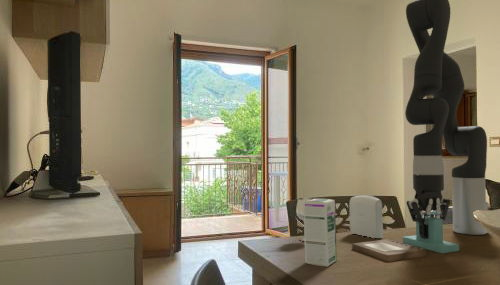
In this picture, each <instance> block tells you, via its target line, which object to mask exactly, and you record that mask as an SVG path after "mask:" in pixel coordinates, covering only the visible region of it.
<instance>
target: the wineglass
mask: <svg viewBox="0 0 500 285" xmlns="http://www.w3.org/2000/svg"><path fill="white" fill-rule="evenodd" d="M312 199H314V198H311V197H301V198H298V199H297V202H296V209H295V210H296V216H297V218H298V219H300V220H302V221H304V204H303V202H304V201H309V200H312ZM303 240H304V237H303Z"/></svg>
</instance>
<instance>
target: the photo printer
mask: <svg viewBox="0 0 500 285" xmlns="http://www.w3.org/2000/svg"><path fill="white" fill-rule="evenodd" d="M348 205H349V206H348V207H349V232H350V233H354V234H358V235H362V236H361V237H363V236H367V237H366V238H369V237H371V238H370V239H375V238H381V239H383V237H384V227H383V226H384V225H383V224H384V222H383V221H384V220H383V203H382V200H381V199H379V198H377V197H375V196H372V195H367V194H365V195H364V194H363V195H356V196H352V197H351V198H350V200H349V204H348Z"/></svg>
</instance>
